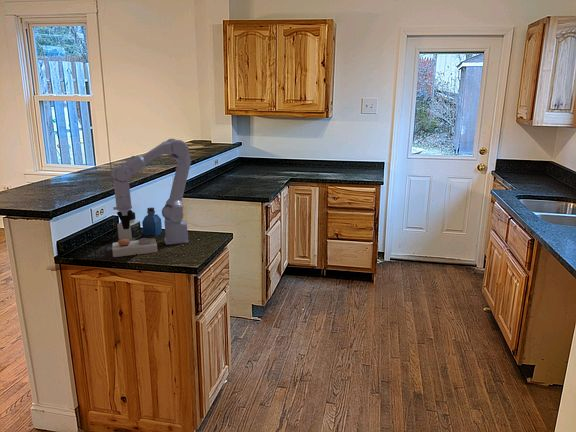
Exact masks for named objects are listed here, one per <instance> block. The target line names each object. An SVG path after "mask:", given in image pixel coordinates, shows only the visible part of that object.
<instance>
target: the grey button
mask: <svg viewBox="0 0 576 432" xmlns="http://www.w3.org/2000/svg"><path fill="white" fill-rule="evenodd" d="M150 239H151V238H149V237H143V238H139V239H138V240H139V244H148V243H150V242H151V241H150Z"/></svg>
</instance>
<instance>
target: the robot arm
mask: <svg viewBox="0 0 576 432" xmlns="http://www.w3.org/2000/svg"><path fill="white" fill-rule="evenodd" d="M189 150H190V147H189V146H188V144H187V143H186V142H185V141H184V140H180V139H175V138H168V139H167V140H165V141H162V142H161V143H159V145H156V146H155V147H153V148H152V149H150V150H149V151H148V152H146V153H144V154H143V155H131V156H130V159H128V160H126V161H123V162H121V163H120V165H116V166H114V167H113V168H112V170H111V172H110V176H111V178H112V179H113V188H114V197H115V205H116V206H113V207H112V208H113V210H114V211H117V212H116V215H117V217H118V218H119V220H120V223H122V226H123V229H129V226H130V218H131V215H132V211H133V210H132V209H133V206H132V201H131V200H132V199H131V188H130V178H131V176H133V175H135V174H137V173H138V172H140V171H142V170H143V169H145V168H146V165H147V163H149V162H152V161H154V160H155V159H157V158H159V157H161V156H162V155H171V156H172V157H173V159H174V160H175V161H176V162H177V164H176V169H175V172H174V177H173V180H172V186H171V189H170V194H169V198H168V199H167V200H166V201H165V205H164V206H163V207H162V209H161V216H162V217H163V218H164V235H165V238H164V239H163V240H164V243H165V245H167V246H168V245H177V244H184V243H186V244H187V243H189V233H188V224H187V221H186V220H183V219H184V205H183V198H184V192H185V189H186V186H187V184H186V183H187V181H188V176H189V171H190V168H191V163H192V159H191V155H190V151H189Z"/></svg>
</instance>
